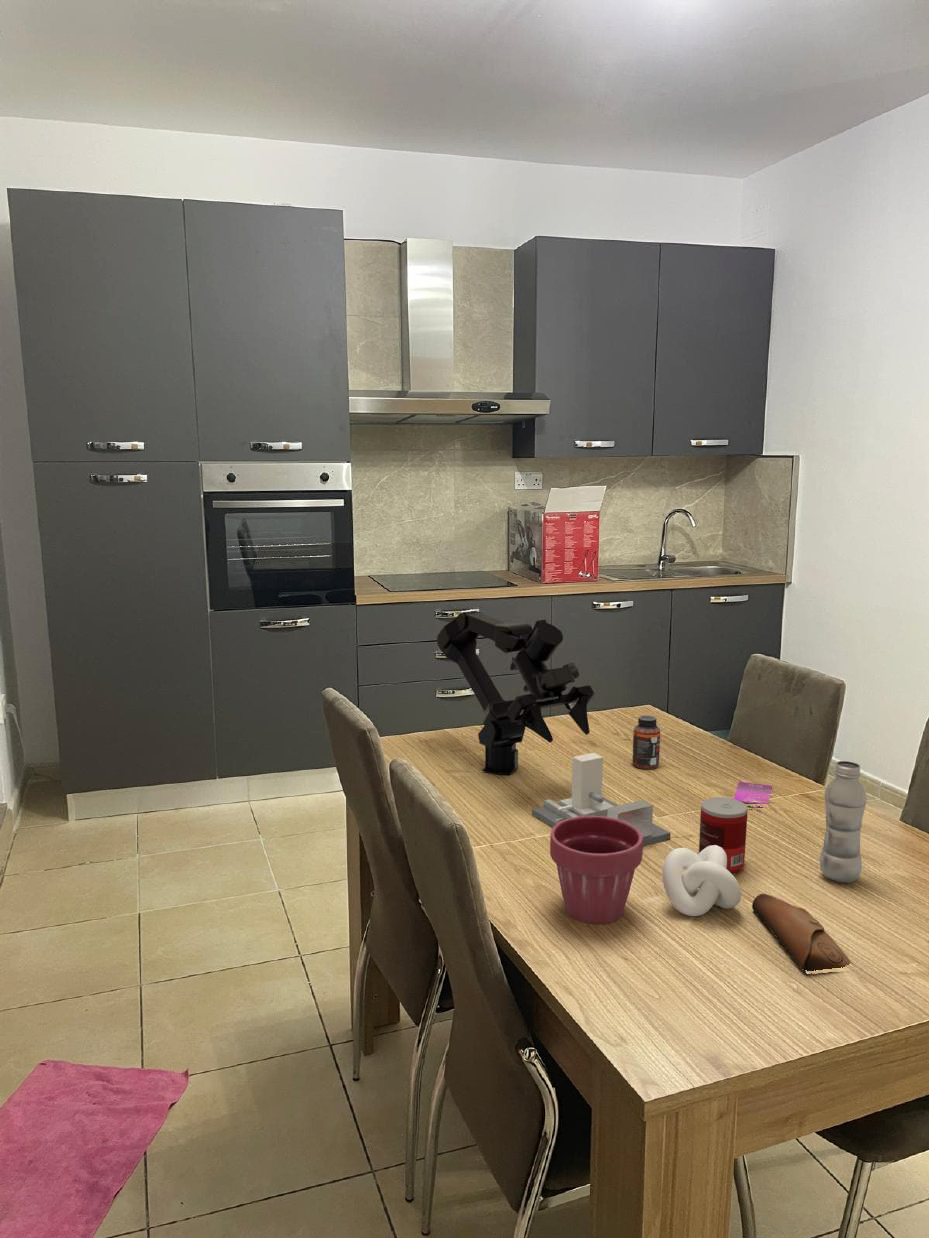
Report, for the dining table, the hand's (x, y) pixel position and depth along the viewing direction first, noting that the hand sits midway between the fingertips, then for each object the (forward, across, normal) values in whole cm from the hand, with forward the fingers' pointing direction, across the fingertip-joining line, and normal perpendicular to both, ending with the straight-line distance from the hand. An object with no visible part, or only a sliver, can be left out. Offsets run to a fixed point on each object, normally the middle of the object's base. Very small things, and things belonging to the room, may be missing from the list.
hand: (570, 737), depth 183 cm
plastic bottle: (+46, +18, -22) cm, 55 cm away
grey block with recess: (+24, -2, -4) cm, 24 cm away
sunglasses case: (+54, -3, -28) cm, 61 cm away
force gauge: (+14, -3, +4) cm, 15 cm away
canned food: (+36, +5, -13) cm, 39 cm away
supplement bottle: (+3, +29, +17) cm, 34 cm away
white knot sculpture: (+43, -8, -19) cm, 47 cm away
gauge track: (+18, -2, +3) cm, 18 cm away
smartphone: (+22, +35, 0) cm, 42 cm away
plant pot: (+36, -23, -13) cm, 45 cm away
